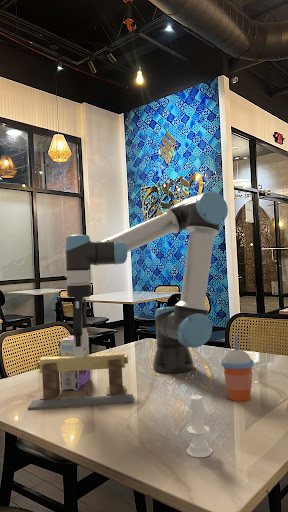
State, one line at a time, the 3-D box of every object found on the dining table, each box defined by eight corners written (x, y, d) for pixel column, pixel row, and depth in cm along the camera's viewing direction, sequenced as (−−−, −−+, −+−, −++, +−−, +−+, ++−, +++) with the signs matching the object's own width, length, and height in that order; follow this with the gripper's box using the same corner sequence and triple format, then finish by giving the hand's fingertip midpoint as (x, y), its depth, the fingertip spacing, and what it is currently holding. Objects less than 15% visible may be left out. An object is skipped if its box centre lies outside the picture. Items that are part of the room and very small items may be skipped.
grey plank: (132, 395, 125) (132, 393, 125) (133, 402, 119) (133, 400, 119) (32, 402, 124) (32, 400, 124) (28, 409, 118) (27, 407, 118)
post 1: (63, 392, 133) (62, 359, 133) (59, 400, 125) (58, 365, 125) (44, 393, 132) (43, 360, 132) (39, 401, 124) (38, 366, 125)
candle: (183, 456, 85) (180, 397, 85) (190, 445, 90) (187, 389, 90) (209, 459, 83) (206, 399, 83) (214, 447, 88) (211, 391, 88)
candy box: (77, 391, 133) (75, 339, 133) (60, 391, 134) (57, 340, 134) (91, 379, 146) (89, 332, 147) (75, 378, 148) (73, 332, 148)
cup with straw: (237, 405, 112) (233, 339, 113) (216, 397, 120) (213, 335, 121) (262, 399, 117) (259, 335, 117) (241, 391, 125) (237, 331, 125)
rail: (127, 364, 132) (127, 352, 132) (128, 367, 128) (127, 354, 128) (38, 370, 130) (38, 357, 130) (36, 373, 127) (36, 360, 127)
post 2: (126, 388, 134) (124, 355, 134) (126, 395, 126) (124, 361, 126) (107, 389, 133) (105, 356, 134) (106, 397, 125) (104, 362, 126)
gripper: (71, 283, 142) (73, 345, 141) (61, 286, 117) (63, 362, 116) (93, 282, 142) (95, 344, 142) (87, 285, 117) (90, 361, 117)
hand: (81, 352), depth 129 cm, fingers open, 13 cm apart
